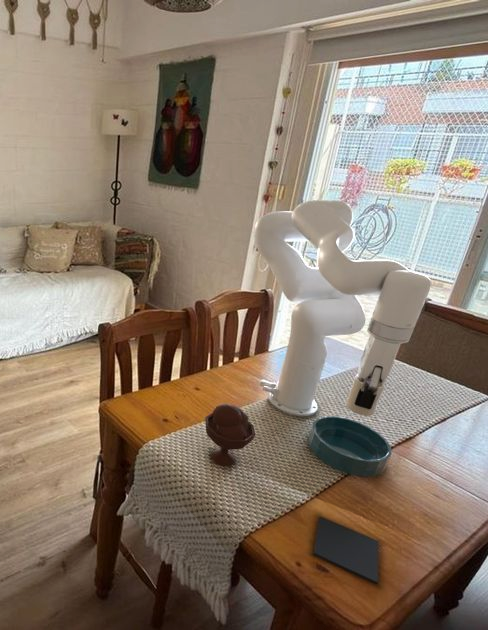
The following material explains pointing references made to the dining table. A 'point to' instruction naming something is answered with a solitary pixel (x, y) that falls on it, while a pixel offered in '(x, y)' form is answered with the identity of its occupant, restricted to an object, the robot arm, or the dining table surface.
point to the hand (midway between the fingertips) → (363, 399)
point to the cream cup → (354, 392)
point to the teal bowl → (349, 446)
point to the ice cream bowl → (228, 432)
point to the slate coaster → (347, 549)
